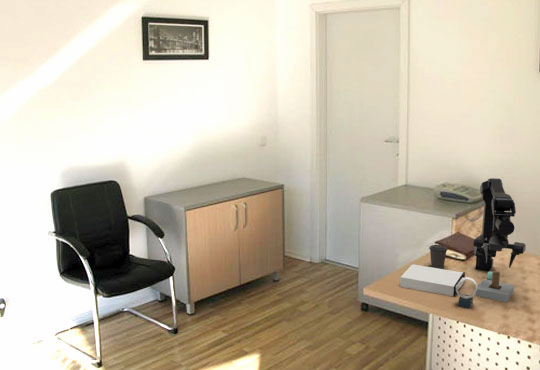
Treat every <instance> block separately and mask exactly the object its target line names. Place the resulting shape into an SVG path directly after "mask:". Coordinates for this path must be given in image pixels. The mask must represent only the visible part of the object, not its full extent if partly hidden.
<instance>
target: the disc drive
mask: <svg viewBox="0 0 540 370" xmlns="http://www.w3.org/2000/svg"><path fill="white" fill-rule="evenodd" d="M465 275H466V272H465V271H463V272H462V271H461V272H460V271H455V270H450V269H444V268H443V269H438V268H432V267H431V266H426V265H425V266H424V265H419V264H411V265H410V266H409V267H408V268H407V270H406V271H404V272H403V274H402V275H401V276H400V277H399V278H400V279H399V280H400V281H399V283H400V284H399V287H400V288H404V289H405V288H406V289H411V290H416V291H417V290H418V291H422V292H427V293H433V294H439V295H443V294H444V295H443V296H450V297H454V298H455V297H456V296H457V295H458V294H457V292H456V288H455V287H456V285H457V284H458V282H459V281H460V280H461V279H462V278H465V277H466V276H465ZM461 288H462V287H460V288H459V291H460V289H461ZM456 294H457V295H456Z"/></svg>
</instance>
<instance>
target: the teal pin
mask: <svg viewBox="0 0 540 370" xmlns="http://www.w3.org/2000/svg"><path fill="white" fill-rule="evenodd" d="M493 272H494V271H491V270H490V271H489V272H488V271H487V276H486V277H487V278H486V280H490V281H492V273H493Z"/></svg>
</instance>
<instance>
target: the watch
mask: <svg viewBox="0 0 540 370" xmlns="http://www.w3.org/2000/svg"><path fill="white" fill-rule="evenodd" d="M466 281H470V282H471V283H473V285H474V286H475V288H474V291H473V292H472V293H471V294H470V295H469V294H465V293H462V292H460V290H459V288H460V287H461V286H462V287H463V285H464V284H463V283H465V282H466ZM478 286H479V285H478V282H477V281H476V280H475V279H474V278H473V277H469V276H465V278H462V279H461V280H460V281H459V282H458V284H457V285H456V287H455V288H456V292H457V295H458V296H459V298H458V305H457V307H459V308H464V309H469V310H470V309H471V307H472V306H473V304H474V303H473V302H474V296H475V295H476V291H477V289H478ZM462 287H461V288H462ZM461 288H460V289H461Z"/></svg>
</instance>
